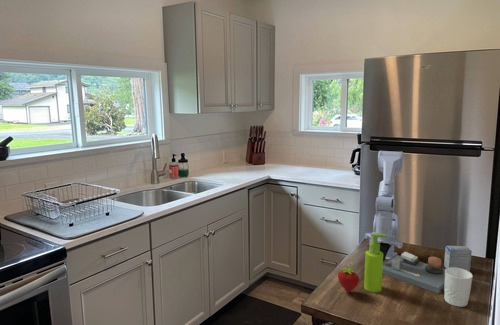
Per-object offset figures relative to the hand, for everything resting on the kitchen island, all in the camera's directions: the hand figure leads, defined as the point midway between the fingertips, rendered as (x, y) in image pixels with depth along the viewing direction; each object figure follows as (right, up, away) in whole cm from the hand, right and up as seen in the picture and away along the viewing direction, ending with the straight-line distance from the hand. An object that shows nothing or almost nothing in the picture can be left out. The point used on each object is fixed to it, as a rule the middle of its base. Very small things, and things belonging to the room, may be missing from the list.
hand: (382, 260), depth 147 cm
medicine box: (+29, -3, 0) cm, 29 cm away
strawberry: (-18, -7, -17) cm, 25 cm away
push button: (+17, 0, -6) cm, 18 cm away
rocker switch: (+11, 0, +2) cm, 11 cm away
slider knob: (+4, -2, -4) cm, 6 cm away
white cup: (+16, -8, -23) cm, 29 cm away
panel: (+11, -4, -5) cm, 13 cm away
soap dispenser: (-8, -6, -14) cm, 17 cm away
